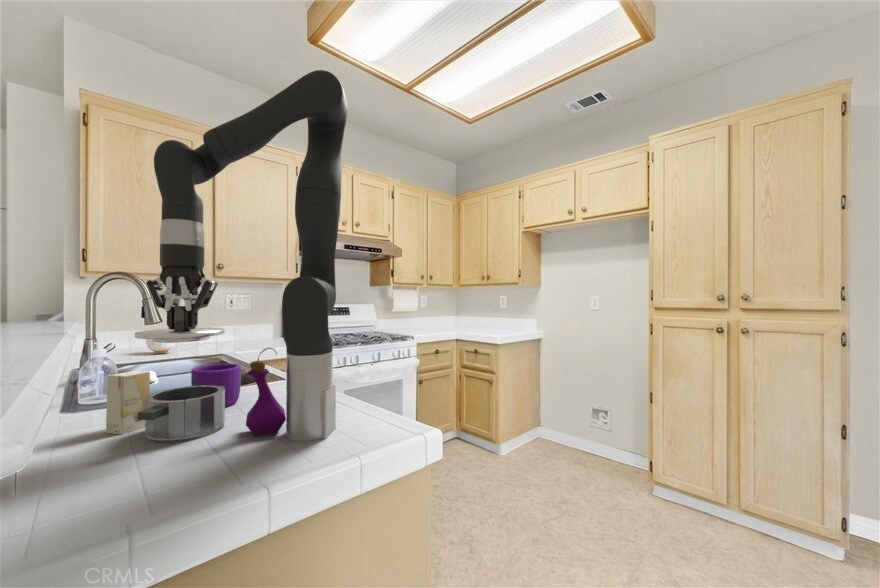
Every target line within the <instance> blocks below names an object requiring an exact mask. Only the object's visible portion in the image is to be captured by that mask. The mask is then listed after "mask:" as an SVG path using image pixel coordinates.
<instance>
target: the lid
mask: <svg viewBox="0 0 880 588" xmlns="http://www.w3.org/2000/svg"><path fill="white" fill-rule="evenodd" d="M185 311H187V310H186V308H185V305H180V306H174V330H170V329H169V328H159V329H147V330H146V329H145V330H140V331H136V332H134V338H135V339H138V340H139V339H140V340H141V339H142V340H146V339H153V342H158V343H177V344H178V343H190V342H199V341H208V340H209V339H211V337H215V336H221V335H225V328H222V327H208V326H207V327H199V326H196V327H195V329H191V330H186V329H185Z"/></svg>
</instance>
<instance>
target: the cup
mask: <svg viewBox="0 0 880 588" xmlns="http://www.w3.org/2000/svg"><path fill="white" fill-rule="evenodd" d="M145 340H146V342H145V344H146V347H147V349H149V350H150V351H151V352H154V353H155V354H163V353H168V352H169V351H170V350H173V349H174V348H175V346H176V345H177V344H176V343H158V342H153V339H145Z"/></svg>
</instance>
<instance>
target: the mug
mask: <svg viewBox="0 0 880 588" xmlns="http://www.w3.org/2000/svg"><path fill="white" fill-rule="evenodd" d="M190 371H191V372H190V373H191V376H190V378H191V379H190V380H191V381H190V382H191V385H190V386H200V385H225V408H226V407H230V406H231V405H234V404H235V403H237V402H238V400H239V398H240V394H241V383H242V381H241V380H242V366H241V365H240V364H237V363H213V364H205V365H200V366H196V367H194V368H192V369H191V370H190Z"/></svg>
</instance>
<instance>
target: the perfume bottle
mask: <svg viewBox="0 0 880 588" xmlns="http://www.w3.org/2000/svg"><path fill="white" fill-rule="evenodd" d="M267 350H272V351H274V352H275V354H276V355H278V353H277V350H276V349H275V348H274V347H272V346H271V347H270V346H268V347H265V348H264V349H263V350H261V351H260V352H259V354H258V357H257V360H254V361H252V362H249V366H250V370H249V371H247V375H248V376H250V377H252V378H253V379H254V381H255V383H256V384H257V389H258V398H257V400H256V401H255V403H254V405H252V407H251V408H250V410H249V411H248V412H247V415H246V420H245V426H246V428H247V429H248V430H249V431H250V433H252V434H253V436H255V437H264V436H270V435H271V436H272V435H276V434H278V433H279V431H280V430H281V428H282V426H283V425H284V424H285V422H286V412H285V408H283V407H282V406H283V405H281V404H280V403H279V402H278V400H277V399H276V397H275V396H274V395H273V393H272V391H271V389H270V386H269V384H268V382H267V378H266V377H267V374H270V371H269V369H268V368H266V363H265V362H264V361H261V360H260V356H261V354H262V353H264V352H265V351H267Z"/></svg>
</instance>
